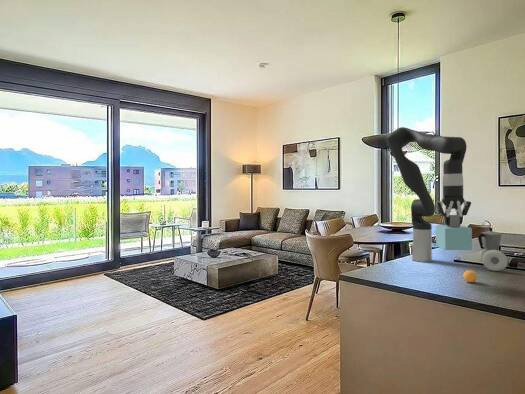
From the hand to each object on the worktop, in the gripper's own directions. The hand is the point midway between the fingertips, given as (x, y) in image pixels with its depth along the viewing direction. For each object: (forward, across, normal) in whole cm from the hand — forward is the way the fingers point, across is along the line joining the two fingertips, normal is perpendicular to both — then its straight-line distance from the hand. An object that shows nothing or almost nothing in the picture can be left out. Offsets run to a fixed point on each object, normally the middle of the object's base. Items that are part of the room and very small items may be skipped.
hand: (453, 225), depth 147 cm
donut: (+24, +26, +20) cm, 41 cm away
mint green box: (+9, 0, 0) cm, 9 cm away
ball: (+22, +6, 0) cm, 23 cm away
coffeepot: (+24, +33, +39) cm, 56 cm away
